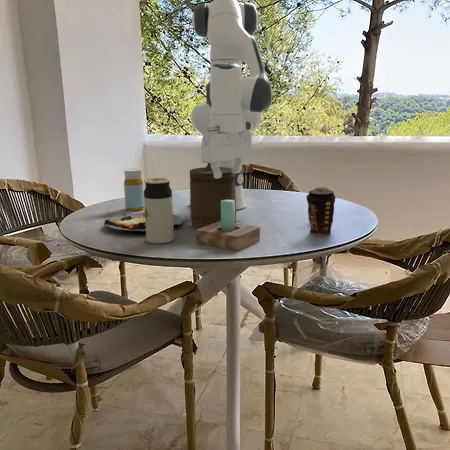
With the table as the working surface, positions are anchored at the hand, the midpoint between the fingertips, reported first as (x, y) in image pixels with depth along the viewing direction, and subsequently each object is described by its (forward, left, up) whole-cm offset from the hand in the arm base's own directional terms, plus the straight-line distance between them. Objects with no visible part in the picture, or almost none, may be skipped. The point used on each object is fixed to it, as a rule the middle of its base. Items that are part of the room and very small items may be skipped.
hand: (227, 175), depth 136 cm
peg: (0, 0, -19) cm, 19 cm away
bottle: (-54, +18, -20) cm, 60 cm away
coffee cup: (+19, +22, -19) cm, 35 cm away
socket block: (0, 0, -19) cm, 19 cm away
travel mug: (-18, -9, -19) cm, 28 cm away
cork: (+12, +39, -20) cm, 45 cm away
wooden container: (-15, +14, -20) cm, 28 cm away
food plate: (-34, +1, -20) cm, 39 cm away
